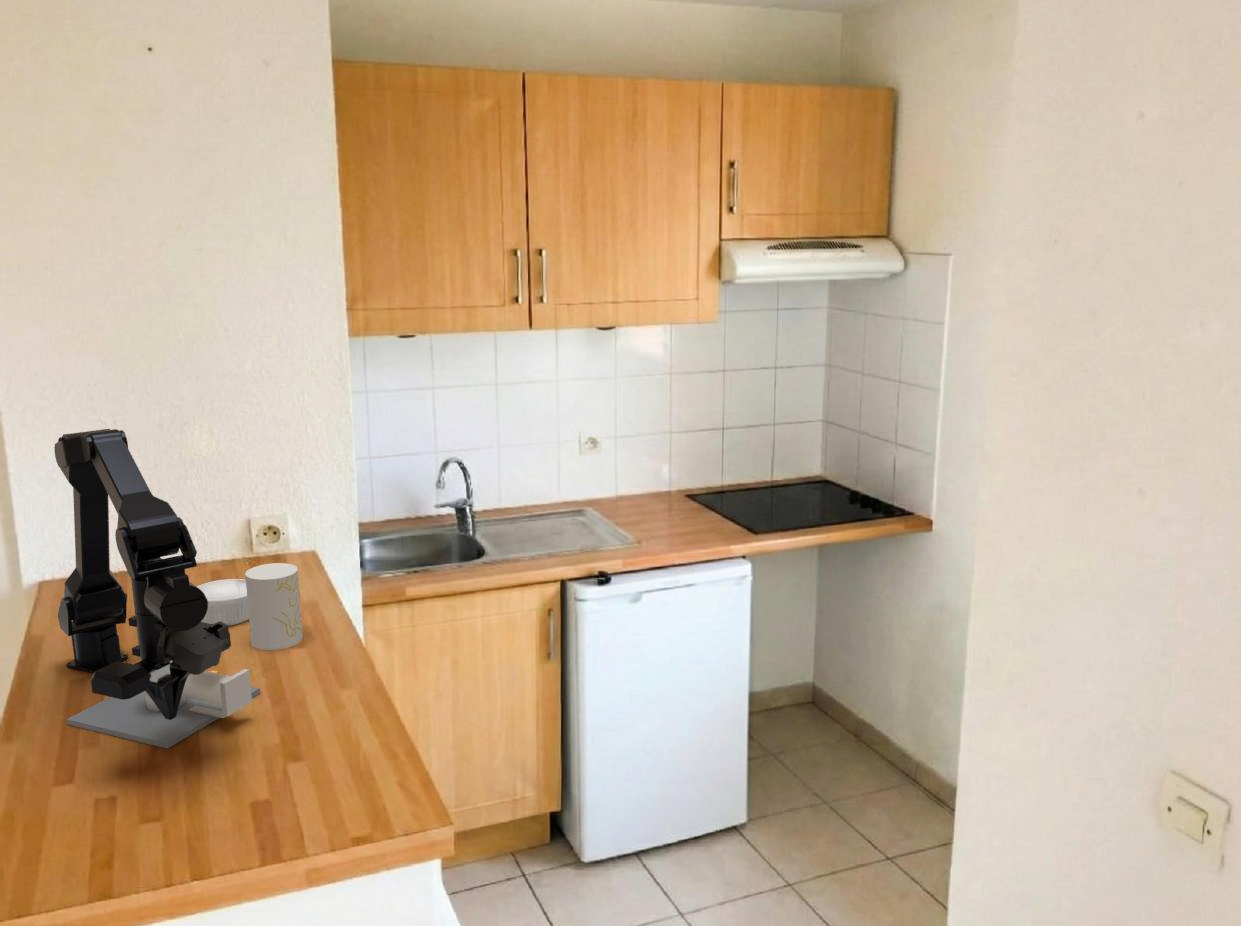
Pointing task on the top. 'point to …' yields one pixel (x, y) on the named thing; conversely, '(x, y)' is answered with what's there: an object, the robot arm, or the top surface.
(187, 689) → the elbow
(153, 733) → the grey square panel
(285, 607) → the cup
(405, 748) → the top surface
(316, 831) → the top surface
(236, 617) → the ramekin
